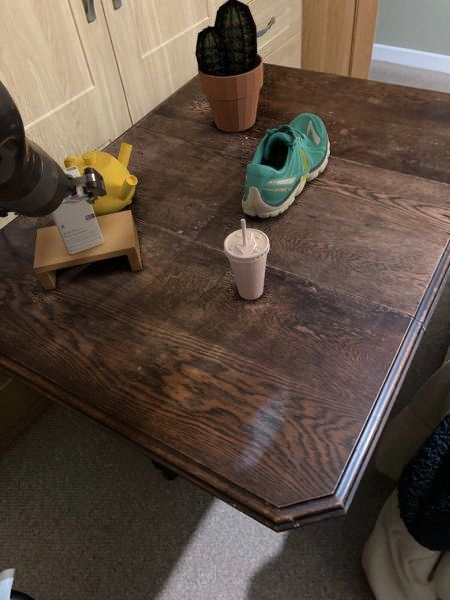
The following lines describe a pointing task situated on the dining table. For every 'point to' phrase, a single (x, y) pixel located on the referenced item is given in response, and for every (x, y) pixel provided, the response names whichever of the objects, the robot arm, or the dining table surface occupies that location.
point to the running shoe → (285, 165)
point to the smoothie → (247, 259)
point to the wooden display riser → (117, 242)
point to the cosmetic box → (77, 223)
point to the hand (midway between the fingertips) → (61, 203)
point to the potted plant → (230, 67)
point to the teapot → (108, 178)
